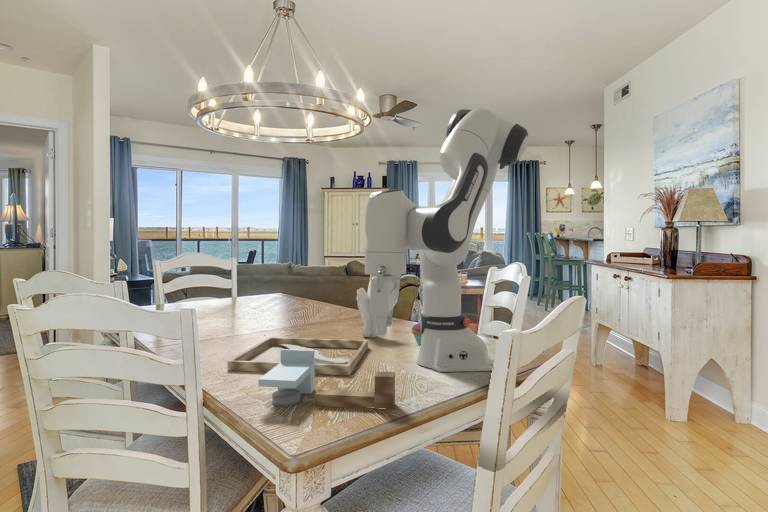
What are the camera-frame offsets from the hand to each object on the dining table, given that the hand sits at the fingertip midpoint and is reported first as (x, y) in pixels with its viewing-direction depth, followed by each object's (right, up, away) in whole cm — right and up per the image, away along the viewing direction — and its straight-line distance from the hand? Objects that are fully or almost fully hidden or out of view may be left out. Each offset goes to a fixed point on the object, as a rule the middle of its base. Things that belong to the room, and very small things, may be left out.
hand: (384, 330), depth 95 cm
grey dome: (-22, -17, +4) cm, 28 cm away
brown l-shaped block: (-6, -16, +2) cm, 18 cm away
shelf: (-22, -16, +5) cm, 28 cm away
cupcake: (+14, -15, +59) cm, 62 cm away
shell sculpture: (-5, -14, +69) cm, 71 cm away
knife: (-23, -16, +40) cm, 49 cm away
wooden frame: (-24, -15, +40) cm, 49 cm away
